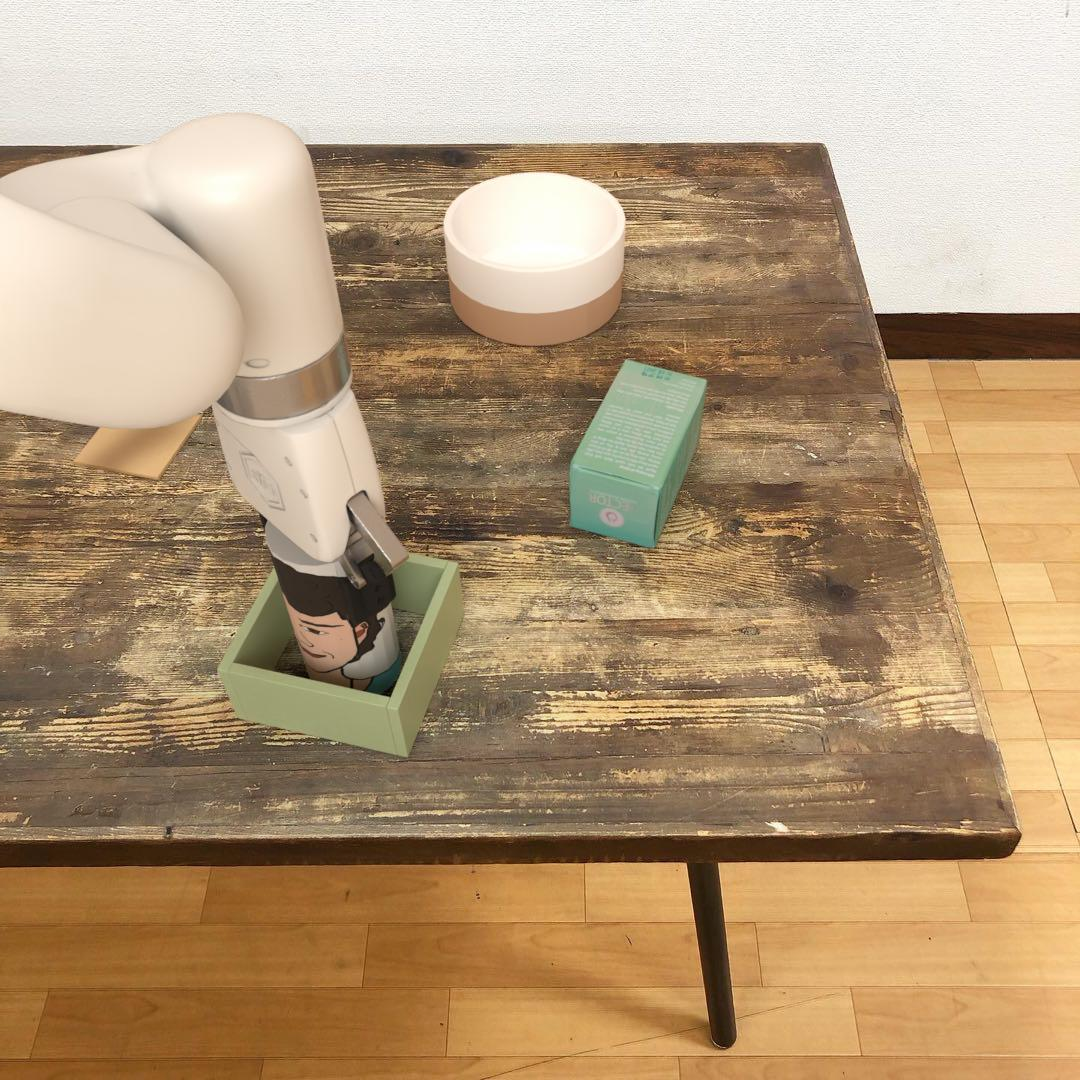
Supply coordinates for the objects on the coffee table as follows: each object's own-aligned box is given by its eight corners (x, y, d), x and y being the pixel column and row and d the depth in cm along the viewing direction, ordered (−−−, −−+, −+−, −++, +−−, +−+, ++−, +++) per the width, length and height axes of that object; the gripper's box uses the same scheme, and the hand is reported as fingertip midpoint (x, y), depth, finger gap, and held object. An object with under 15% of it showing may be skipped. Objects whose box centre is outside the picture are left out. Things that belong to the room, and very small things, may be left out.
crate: (237, 718, 74) (216, 669, 70) (308, 582, 82) (294, 530, 78) (408, 758, 72) (397, 709, 68) (464, 614, 80) (458, 562, 76)
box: (565, 530, 85) (566, 463, 80) (619, 423, 94) (623, 355, 88) (654, 555, 84) (661, 488, 78) (700, 444, 92) (710, 376, 86)
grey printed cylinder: (311, 630, 79) (269, 488, 68) (402, 623, 80) (375, 481, 68) (305, 707, 75) (259, 569, 64) (401, 700, 75) (373, 562, 64)
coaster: (74, 464, 91) (73, 461, 91) (122, 404, 97) (120, 400, 96) (158, 480, 90) (157, 477, 90) (202, 418, 95) (201, 415, 95)
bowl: (587, 364, 99) (589, 288, 93) (420, 323, 104) (411, 249, 97) (645, 263, 110) (650, 189, 103) (491, 231, 114) (487, 158, 108)
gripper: (127, 321, 59) (207, 533, 72) (321, 477, 50) (371, 685, 64) (241, 264, 62) (298, 476, 75) (440, 401, 54) (465, 613, 67)
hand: (331, 571), depth 69 cm, fingers open, 8 cm apart
